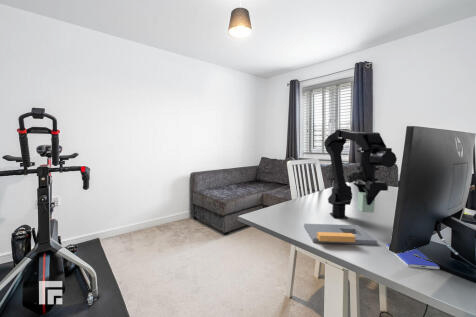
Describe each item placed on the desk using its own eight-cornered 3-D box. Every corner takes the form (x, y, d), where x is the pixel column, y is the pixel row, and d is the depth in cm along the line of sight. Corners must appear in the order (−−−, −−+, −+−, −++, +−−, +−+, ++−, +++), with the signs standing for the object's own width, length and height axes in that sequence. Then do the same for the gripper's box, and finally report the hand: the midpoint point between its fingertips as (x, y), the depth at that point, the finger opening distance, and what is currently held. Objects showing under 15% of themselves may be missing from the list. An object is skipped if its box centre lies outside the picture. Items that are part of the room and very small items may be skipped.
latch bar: (317, 237, 78) (317, 232, 78) (351, 238, 77) (351, 233, 77) (319, 241, 75) (319, 235, 75) (355, 242, 74) (355, 236, 74)
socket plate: (304, 227, 92) (304, 223, 92) (357, 228, 90) (357, 225, 90) (313, 242, 78) (313, 238, 78) (376, 244, 76) (376, 240, 76)
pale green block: (357, 208, 89) (358, 191, 88) (368, 208, 88) (369, 192, 88) (362, 212, 85) (363, 194, 84) (373, 212, 84) (375, 194, 83)
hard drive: (386, 243, 75) (407, 263, 63) (412, 245, 74) (439, 265, 61) (385, 247, 75) (407, 268, 63) (411, 249, 74) (439, 271, 62)
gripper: (338, 161, 95) (336, 196, 96) (356, 166, 76) (354, 209, 78) (364, 162, 94) (362, 197, 95) (390, 167, 75) (387, 211, 77)
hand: (365, 203), depth 86 cm, fingers closed on pale green block, 4 cm apart
